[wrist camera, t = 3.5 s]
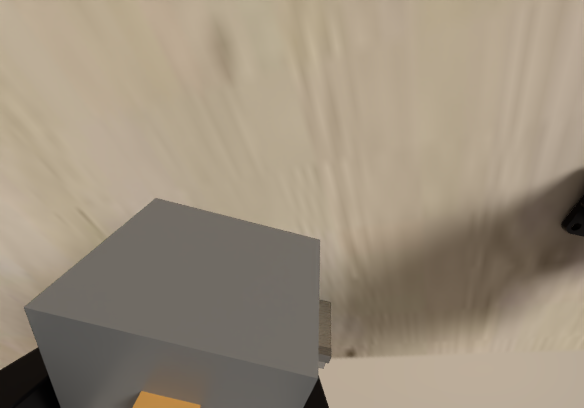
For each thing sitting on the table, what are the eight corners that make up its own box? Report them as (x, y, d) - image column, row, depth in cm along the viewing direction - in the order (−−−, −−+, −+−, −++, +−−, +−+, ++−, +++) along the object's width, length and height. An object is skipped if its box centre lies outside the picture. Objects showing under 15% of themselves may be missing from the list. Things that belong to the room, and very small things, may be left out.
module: (319, 239, 8) (318, 420, 4) (273, 369, 11) (246, 539, 7) (155, 198, 8) (-17, 340, 4) (157, 341, 11) (65, 498, 7)
